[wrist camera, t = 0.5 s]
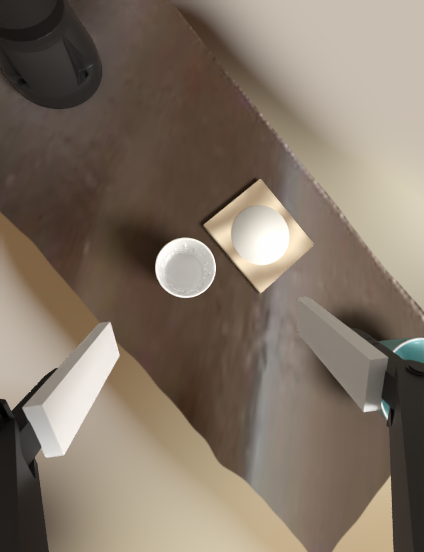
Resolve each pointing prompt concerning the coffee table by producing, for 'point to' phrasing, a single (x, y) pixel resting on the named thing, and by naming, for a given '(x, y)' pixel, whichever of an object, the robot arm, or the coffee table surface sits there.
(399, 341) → the bowl
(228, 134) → the coffee table surface
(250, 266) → the coaster board
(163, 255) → the white cup
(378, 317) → the coffee table surface
